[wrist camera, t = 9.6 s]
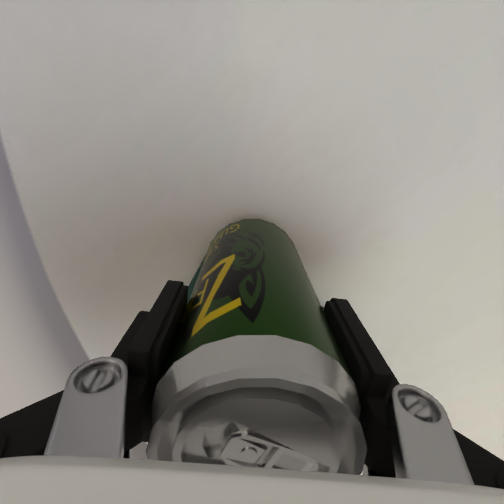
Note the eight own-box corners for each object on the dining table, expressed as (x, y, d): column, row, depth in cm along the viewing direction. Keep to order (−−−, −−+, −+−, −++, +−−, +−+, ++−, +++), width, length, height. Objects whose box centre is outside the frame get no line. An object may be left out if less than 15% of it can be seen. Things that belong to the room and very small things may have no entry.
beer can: (311, 239, 17) (429, 423, 6) (269, 307, 19) (299, 549, 8) (231, 199, 16) (192, 327, 5) (195, 274, 18) (104, 495, 7)
